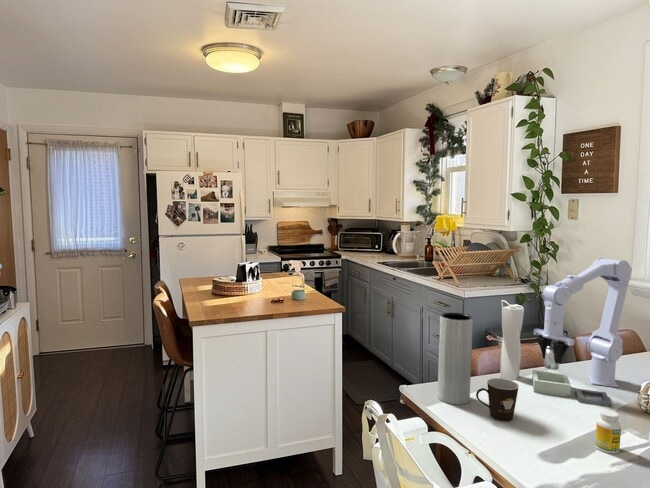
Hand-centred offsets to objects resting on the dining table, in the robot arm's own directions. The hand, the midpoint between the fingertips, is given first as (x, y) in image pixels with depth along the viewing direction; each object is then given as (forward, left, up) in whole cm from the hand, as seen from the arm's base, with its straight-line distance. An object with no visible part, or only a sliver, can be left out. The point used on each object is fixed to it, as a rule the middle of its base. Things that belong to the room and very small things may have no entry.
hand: (551, 360), depth 157 cm
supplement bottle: (+38, +10, -10) cm, 41 cm away
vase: (+21, -30, -10) cm, 38 cm away
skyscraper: (-7, -13, -10) cm, 18 cm away
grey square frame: (+4, +12, -10) cm, 16 cm away
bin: (0, 0, -10) cm, 10 cm away
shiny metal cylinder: (0, 0, -2) cm, 3 cm away
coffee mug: (+29, -17, -10) cm, 35 cm away
